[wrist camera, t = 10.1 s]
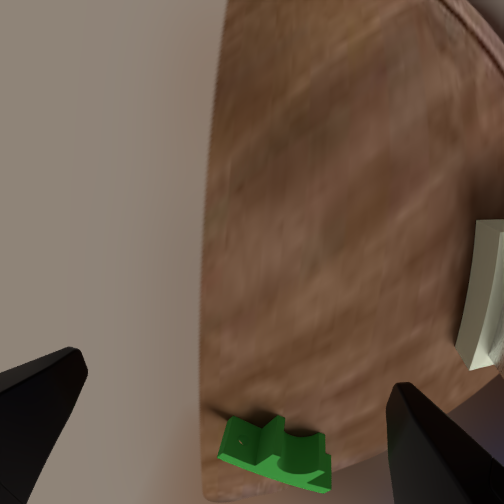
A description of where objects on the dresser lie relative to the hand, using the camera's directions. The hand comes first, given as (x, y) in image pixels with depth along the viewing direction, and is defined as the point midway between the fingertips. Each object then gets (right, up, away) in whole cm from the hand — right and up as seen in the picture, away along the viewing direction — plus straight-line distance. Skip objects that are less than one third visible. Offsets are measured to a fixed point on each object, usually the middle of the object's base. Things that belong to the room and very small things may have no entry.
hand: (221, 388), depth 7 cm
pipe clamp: (+4, -13, +17) cm, 22 cm away
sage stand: (+20, +1, +9) cm, 22 cm away
